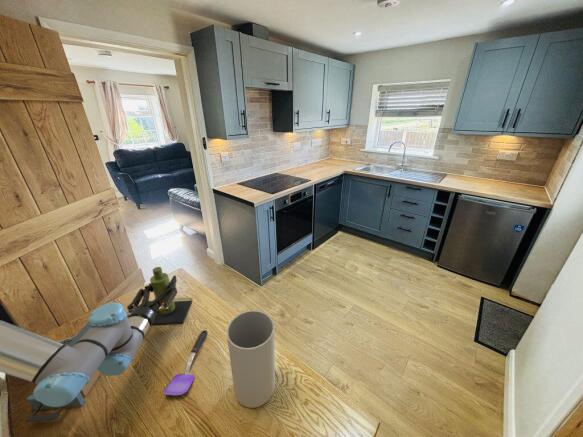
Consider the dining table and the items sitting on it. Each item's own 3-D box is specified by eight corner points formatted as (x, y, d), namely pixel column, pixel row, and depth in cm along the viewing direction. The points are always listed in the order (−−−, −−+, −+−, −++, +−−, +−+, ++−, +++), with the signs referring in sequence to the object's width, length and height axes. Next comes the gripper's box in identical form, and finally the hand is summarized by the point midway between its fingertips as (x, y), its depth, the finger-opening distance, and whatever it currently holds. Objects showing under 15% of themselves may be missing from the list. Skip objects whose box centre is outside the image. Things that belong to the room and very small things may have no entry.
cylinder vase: (258, 359, 82) (255, 304, 72) (283, 387, 74) (283, 328, 64) (226, 385, 74) (218, 327, 64) (249, 419, 66) (244, 359, 55)
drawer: (71, 426, 63) (63, 413, 60) (20, 430, 62) (10, 418, 59) (113, 359, 80) (108, 347, 77) (74, 362, 79) (68, 350, 76)
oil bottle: (156, 314, 95) (144, 274, 87) (162, 303, 101) (152, 264, 93) (172, 314, 96) (162, 273, 88) (177, 302, 102) (168, 264, 93)
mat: (141, 326, 93) (140, 324, 93) (154, 303, 104) (154, 302, 104) (183, 323, 95) (182, 322, 94) (192, 302, 106) (191, 300, 105)
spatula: (197, 331, 92) (196, 326, 91) (214, 332, 92) (213, 327, 91) (163, 399, 70) (161, 394, 69) (185, 401, 70) (184, 395, 69)
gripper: (111, 333, 78) (144, 286, 99) (171, 330, 80) (191, 284, 101) (104, 316, 75) (140, 272, 96) (166, 313, 77) (189, 270, 98)
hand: (166, 278), depth 99 cm, fingers closed on oil bottle, 6 cm apart
